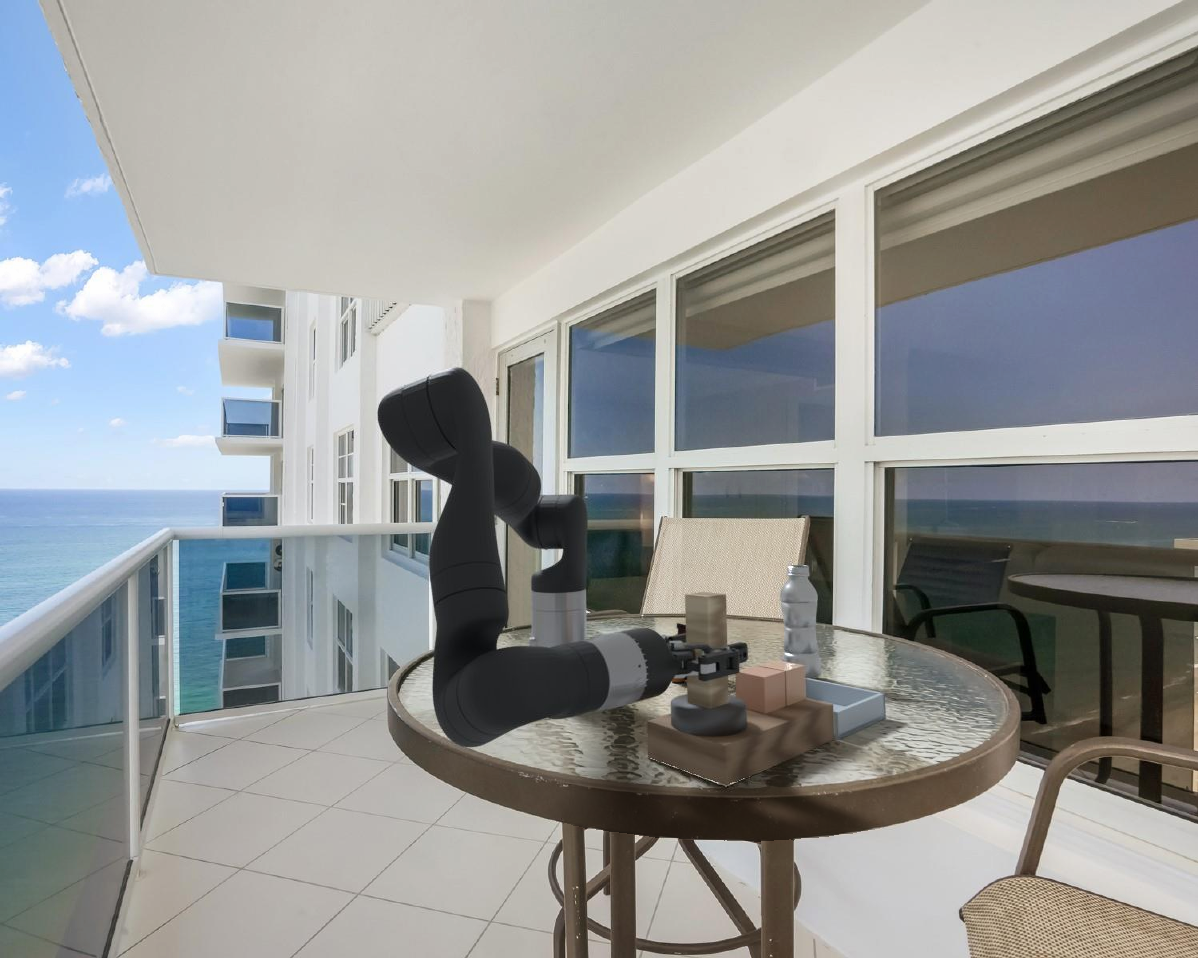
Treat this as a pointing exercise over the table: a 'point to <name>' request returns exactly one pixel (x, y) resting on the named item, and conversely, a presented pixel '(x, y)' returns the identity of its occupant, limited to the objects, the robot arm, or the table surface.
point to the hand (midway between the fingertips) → (716, 646)
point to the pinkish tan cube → (761, 688)
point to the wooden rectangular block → (744, 742)
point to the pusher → (708, 700)
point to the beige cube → (791, 680)
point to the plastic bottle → (800, 620)
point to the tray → (848, 705)
